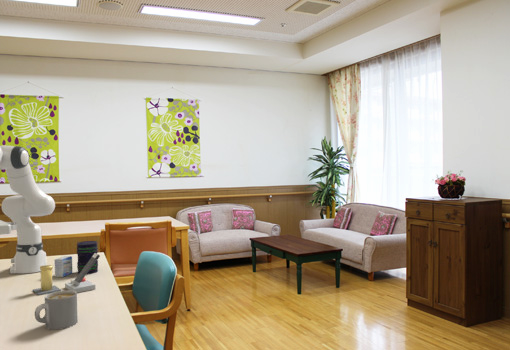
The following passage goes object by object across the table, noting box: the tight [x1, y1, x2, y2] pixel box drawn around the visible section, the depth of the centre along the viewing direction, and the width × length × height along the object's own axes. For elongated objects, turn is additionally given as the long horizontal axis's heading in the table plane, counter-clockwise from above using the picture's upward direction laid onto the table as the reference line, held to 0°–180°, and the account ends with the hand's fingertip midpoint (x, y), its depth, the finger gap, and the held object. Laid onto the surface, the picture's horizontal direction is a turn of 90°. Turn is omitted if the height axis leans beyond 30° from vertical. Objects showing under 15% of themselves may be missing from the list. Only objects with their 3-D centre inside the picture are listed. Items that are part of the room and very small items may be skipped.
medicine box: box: [54, 255, 73, 278], centre depth 216 cm, size 8×4×9 cm, turn 168°
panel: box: [64, 277, 96, 294], centre depth 191 cm, size 12×9×3 cm
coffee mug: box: [34, 290, 79, 330], centre depth 147 cm, size 13×10×10 cm
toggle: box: [72, 253, 101, 286], centre depth 192 cm, size 5×2×15 cm
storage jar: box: [76, 240, 99, 275], centre depth 221 cm, size 10×10×15 cm
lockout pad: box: [32, 285, 62, 296], centre depth 188 cm, size 9×9×1 cm
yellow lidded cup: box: [40, 264, 54, 291], centre depth 188 cm, size 5×5×10 cm
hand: (18, 225), depth 181 cm, fingers open, 8 cm apart
